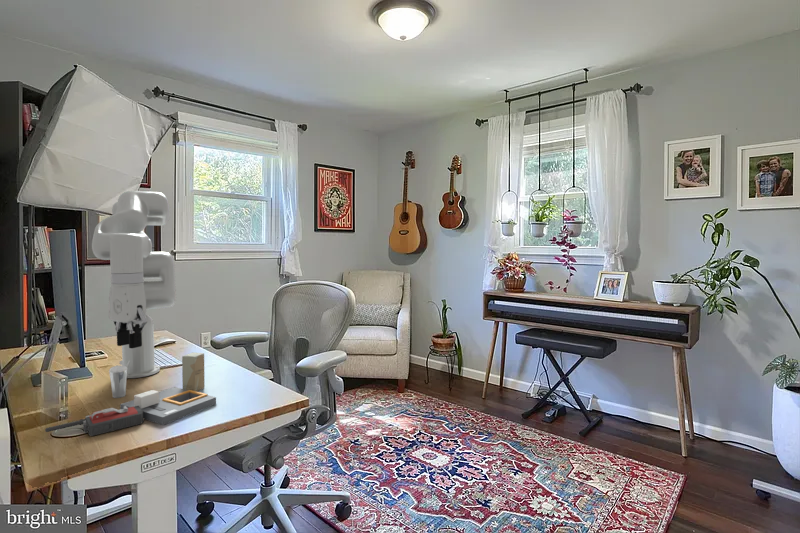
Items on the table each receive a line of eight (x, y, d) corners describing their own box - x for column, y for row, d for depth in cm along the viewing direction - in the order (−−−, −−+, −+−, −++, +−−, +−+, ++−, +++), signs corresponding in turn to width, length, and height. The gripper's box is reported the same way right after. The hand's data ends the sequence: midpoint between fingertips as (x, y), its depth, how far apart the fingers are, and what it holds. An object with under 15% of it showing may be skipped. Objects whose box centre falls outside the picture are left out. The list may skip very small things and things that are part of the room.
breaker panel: (120, 411, 119) (120, 402, 119) (174, 393, 133) (174, 385, 133) (162, 425, 111) (162, 415, 111) (216, 404, 125) (215, 395, 125)
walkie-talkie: (140, 412, 118) (44, 434, 105) (140, 395, 118) (44, 416, 105) (149, 422, 112) (48, 448, 98) (148, 405, 112) (47, 428, 98)
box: (194, 393, 134) (193, 357, 133) (181, 392, 135) (181, 356, 134) (205, 387, 139) (204, 352, 138) (193, 386, 140) (192, 351, 139)
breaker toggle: (134, 406, 117) (134, 395, 117) (152, 400, 121) (152, 389, 121) (141, 408, 116) (141, 397, 115) (159, 402, 120) (159, 391, 120)
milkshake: (134, 394, 132) (132, 361, 131) (114, 400, 128) (113, 366, 127) (126, 391, 135) (125, 359, 134) (107, 397, 130) (105, 363, 130)
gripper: (94, 279, 120) (97, 345, 122) (132, 282, 113) (134, 353, 114) (123, 277, 127) (125, 340, 128) (160, 279, 119) (162, 347, 120)
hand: (129, 345), depth 121 cm, fingers open, 4 cm apart
